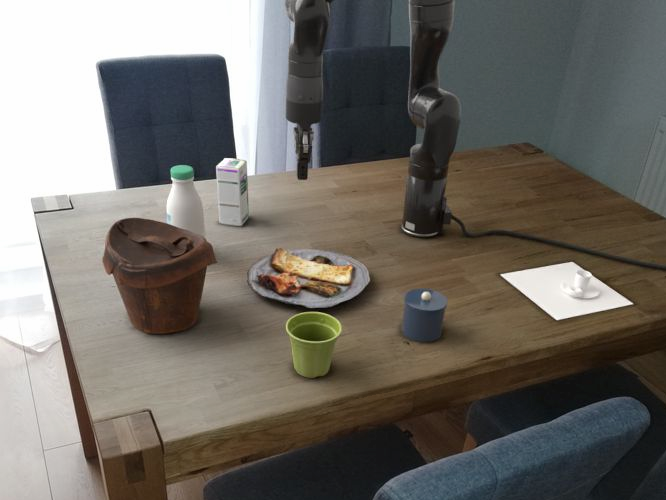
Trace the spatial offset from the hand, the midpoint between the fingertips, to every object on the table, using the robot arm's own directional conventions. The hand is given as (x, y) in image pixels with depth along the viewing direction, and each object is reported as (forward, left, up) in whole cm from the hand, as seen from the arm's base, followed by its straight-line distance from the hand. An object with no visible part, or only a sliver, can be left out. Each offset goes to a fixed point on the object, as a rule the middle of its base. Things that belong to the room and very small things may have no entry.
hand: (302, 178), depth 155 cm
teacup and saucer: (-55, +22, -16) cm, 61 cm away
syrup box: (+15, -14, -16) cm, 26 cm away
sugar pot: (-20, +37, -16) cm, 45 cm away
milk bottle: (+25, +5, -16) cm, 30 cm away
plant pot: (+2, +48, -16) cm, 51 cm away
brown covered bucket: (+28, +30, -16) cm, 44 cm away
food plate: (0, +18, -16) cm, 24 cm away
